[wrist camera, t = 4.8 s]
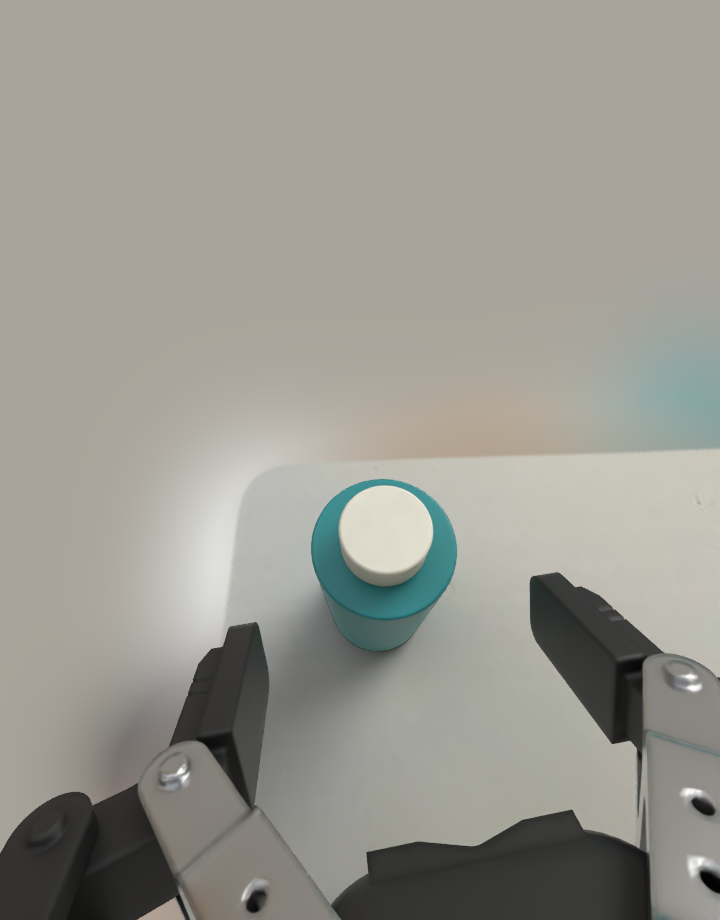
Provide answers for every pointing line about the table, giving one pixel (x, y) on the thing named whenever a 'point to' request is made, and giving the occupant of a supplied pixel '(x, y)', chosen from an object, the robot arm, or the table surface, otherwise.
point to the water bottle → (382, 560)
